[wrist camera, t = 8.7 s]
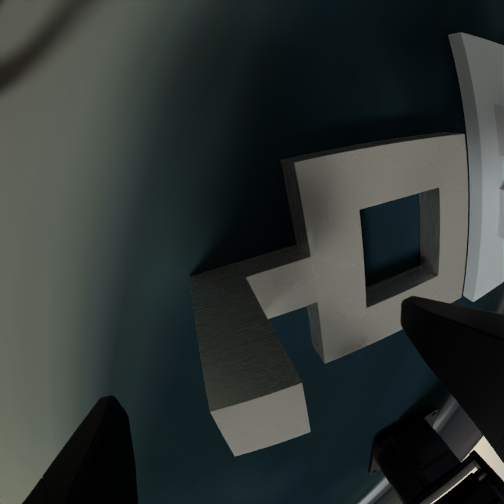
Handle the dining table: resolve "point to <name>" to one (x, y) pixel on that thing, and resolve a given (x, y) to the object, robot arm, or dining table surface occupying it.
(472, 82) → the plate with round-ended peg
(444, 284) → the square frame with handle
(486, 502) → the robot arm
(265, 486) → the dining table surface
